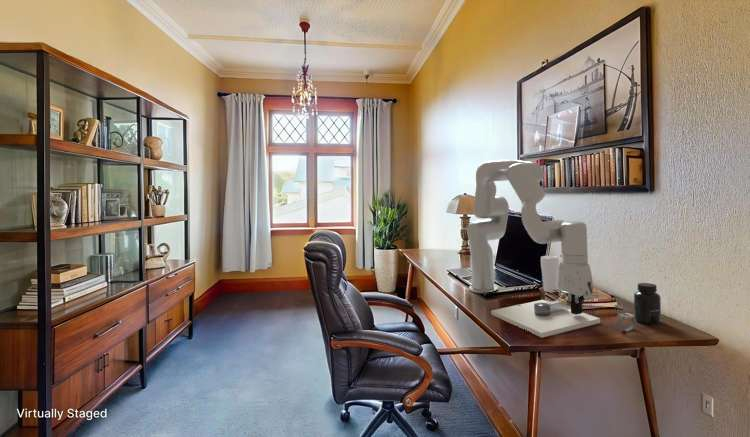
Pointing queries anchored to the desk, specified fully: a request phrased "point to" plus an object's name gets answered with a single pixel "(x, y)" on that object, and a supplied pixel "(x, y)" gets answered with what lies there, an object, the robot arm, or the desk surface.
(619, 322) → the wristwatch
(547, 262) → the drinking glass
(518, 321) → the dial plate
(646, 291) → the supplement bottle
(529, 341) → the desk surface
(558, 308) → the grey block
